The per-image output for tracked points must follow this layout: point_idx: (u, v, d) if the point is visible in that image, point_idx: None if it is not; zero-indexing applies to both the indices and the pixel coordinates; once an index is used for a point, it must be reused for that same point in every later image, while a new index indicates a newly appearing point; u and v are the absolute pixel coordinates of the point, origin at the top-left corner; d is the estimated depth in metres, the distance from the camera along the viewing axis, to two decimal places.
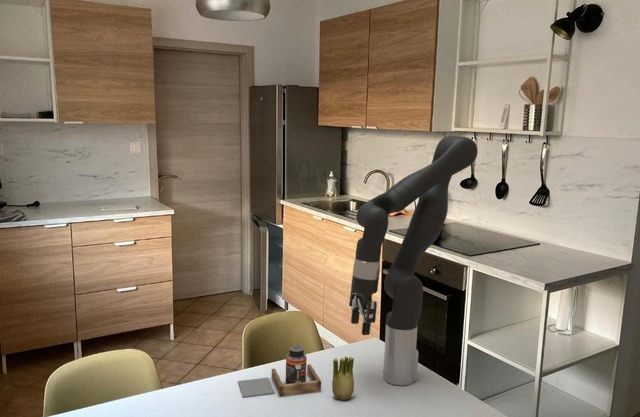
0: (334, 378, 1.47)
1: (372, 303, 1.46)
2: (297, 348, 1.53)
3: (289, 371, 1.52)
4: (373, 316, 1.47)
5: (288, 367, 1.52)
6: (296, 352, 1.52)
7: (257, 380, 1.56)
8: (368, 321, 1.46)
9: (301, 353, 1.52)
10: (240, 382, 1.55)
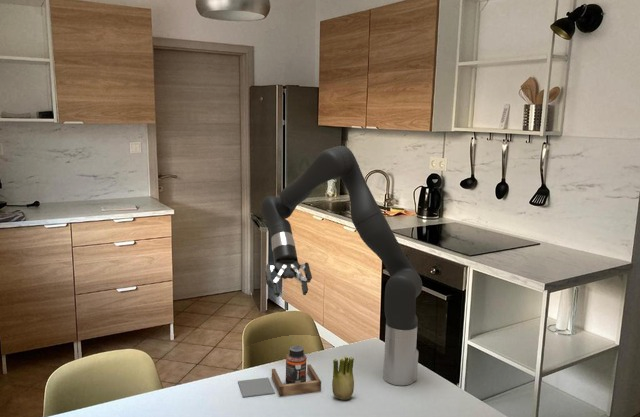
0: (334, 378, 1.47)
1: None
2: (297, 348, 1.53)
3: (289, 371, 1.52)
4: None
5: (288, 367, 1.52)
6: (296, 352, 1.52)
7: (257, 380, 1.56)
8: (266, 282, 1.65)
9: (301, 353, 1.52)
10: (240, 382, 1.55)
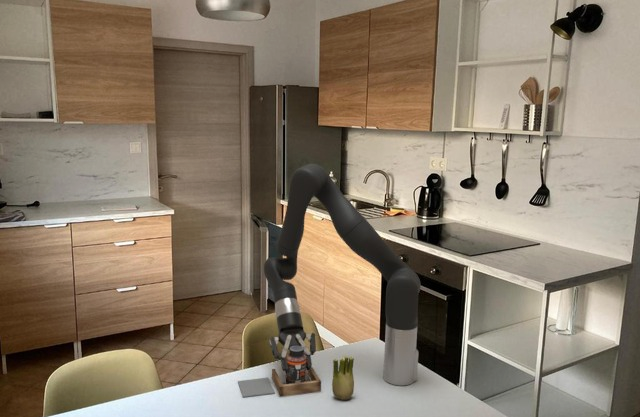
0: (334, 378, 1.47)
1: None
2: (297, 348, 1.53)
3: (289, 371, 1.52)
4: None
5: (288, 367, 1.52)
6: (296, 352, 1.52)
7: (257, 380, 1.56)
8: (274, 356, 1.54)
9: (301, 353, 1.52)
10: (240, 382, 1.55)
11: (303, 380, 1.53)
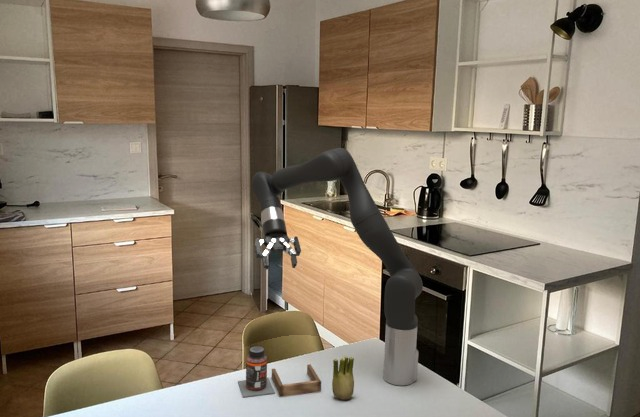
0: (334, 378, 1.47)
1: (255, 241, 1.69)
2: (257, 349, 1.51)
3: (249, 372, 1.50)
4: None
5: (248, 368, 1.50)
6: (256, 353, 1.49)
7: None
8: (256, 256, 1.67)
9: (261, 354, 1.50)
10: (240, 382, 1.55)
11: (263, 381, 1.51)
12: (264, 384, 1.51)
